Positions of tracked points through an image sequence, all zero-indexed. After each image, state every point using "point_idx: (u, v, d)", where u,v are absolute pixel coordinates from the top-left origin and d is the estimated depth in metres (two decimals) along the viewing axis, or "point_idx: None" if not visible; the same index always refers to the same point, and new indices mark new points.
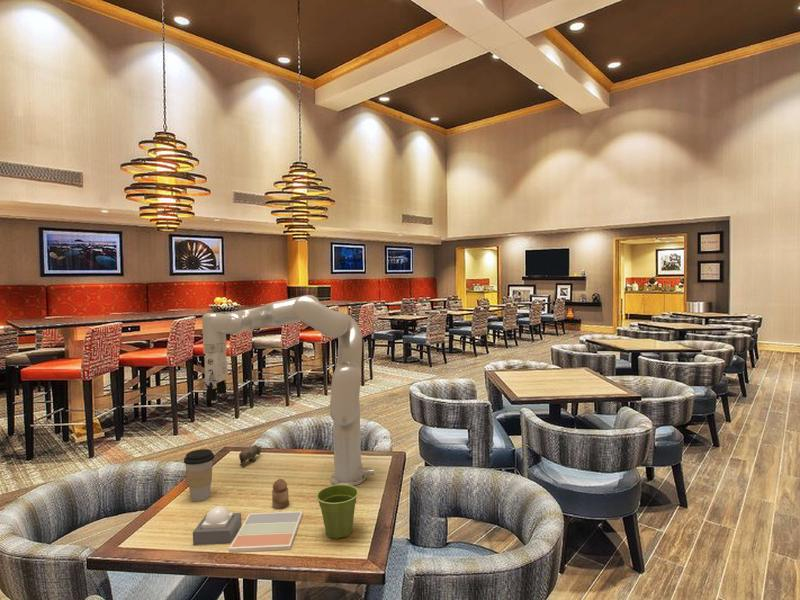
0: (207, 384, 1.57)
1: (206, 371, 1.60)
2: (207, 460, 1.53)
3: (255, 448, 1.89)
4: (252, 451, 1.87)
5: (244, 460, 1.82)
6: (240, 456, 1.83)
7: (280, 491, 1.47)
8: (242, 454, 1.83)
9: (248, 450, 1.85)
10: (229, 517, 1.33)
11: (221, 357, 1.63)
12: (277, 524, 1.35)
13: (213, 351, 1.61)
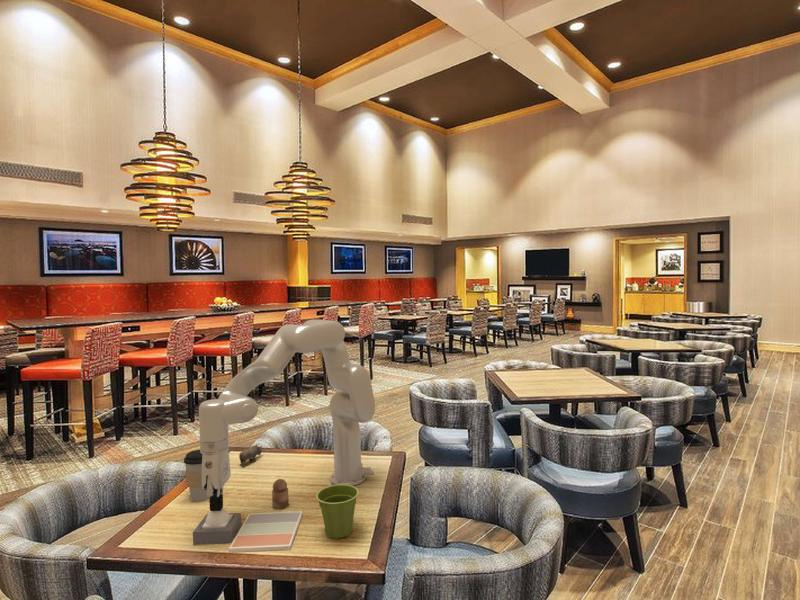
0: None
1: (203, 477, 1.27)
2: None
3: (255, 448, 1.89)
4: (252, 451, 1.86)
5: (244, 460, 1.82)
6: (240, 456, 1.83)
7: (280, 491, 1.47)
8: (242, 454, 1.83)
9: (248, 450, 1.85)
10: (229, 519, 1.33)
11: (222, 457, 1.30)
12: (277, 524, 1.35)
13: (212, 451, 1.28)
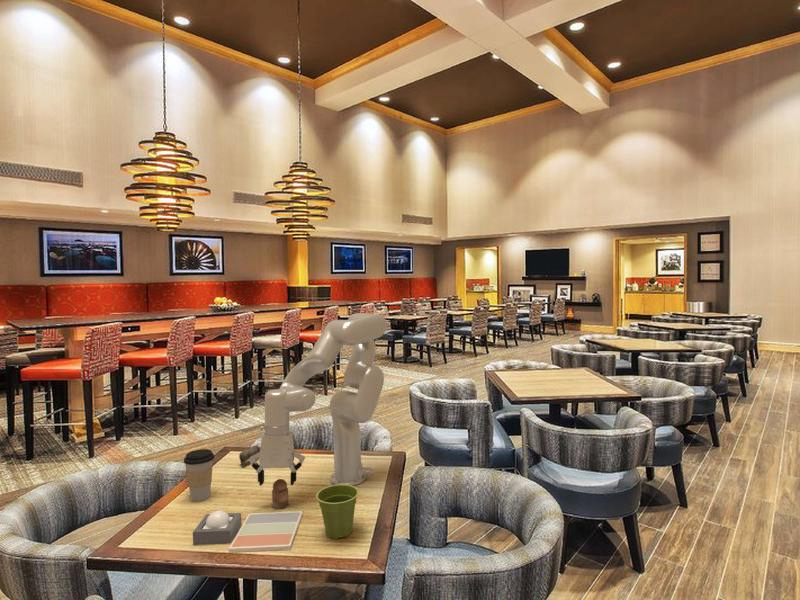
0: None
1: None
2: (207, 460, 1.53)
3: (256, 448, 1.89)
4: (252, 451, 1.86)
5: (244, 460, 1.82)
6: (240, 456, 1.83)
7: (280, 491, 1.47)
8: (242, 454, 1.82)
9: (248, 450, 1.85)
10: (229, 521, 1.33)
11: (269, 441, 1.46)
12: (277, 524, 1.35)
13: None
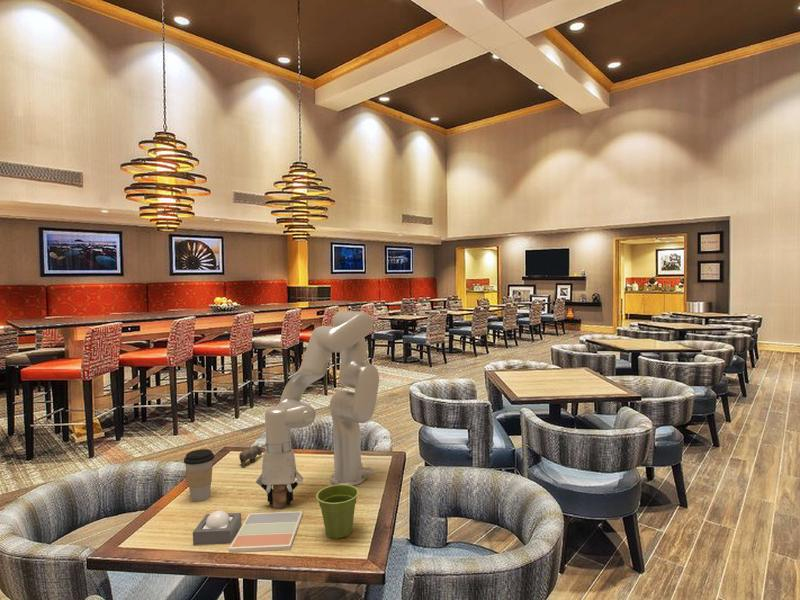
0: None
1: None
2: (207, 460, 1.53)
3: (256, 448, 1.89)
4: (252, 451, 1.86)
5: (244, 460, 1.82)
6: (240, 456, 1.83)
7: (280, 491, 1.47)
8: (242, 454, 1.82)
9: (248, 450, 1.85)
10: (229, 521, 1.33)
11: (271, 459, 1.46)
12: (277, 524, 1.35)
13: (266, 449, 1.48)
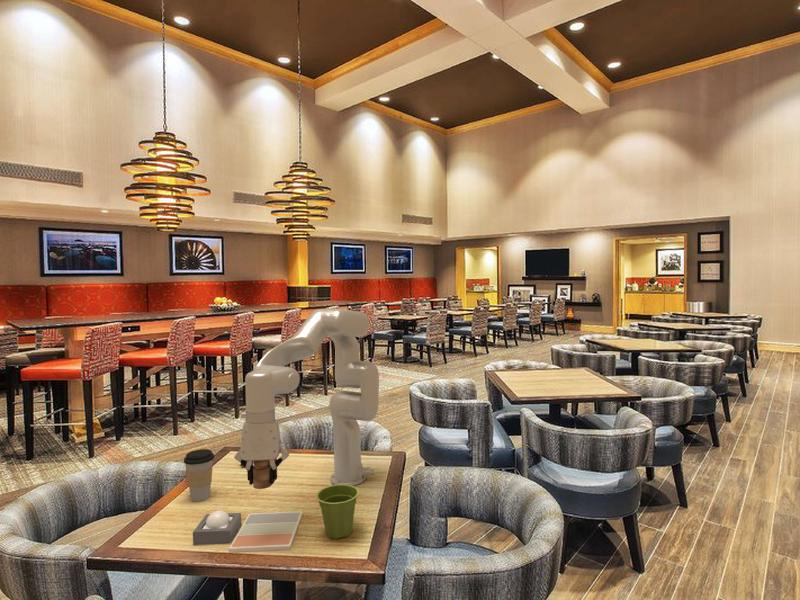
0: None
1: None
2: (207, 460, 1.53)
3: None
4: None
5: None
6: None
7: (262, 468, 1.27)
8: None
9: None
10: (229, 521, 1.33)
11: (251, 430, 1.26)
12: (277, 524, 1.35)
13: (246, 419, 1.28)
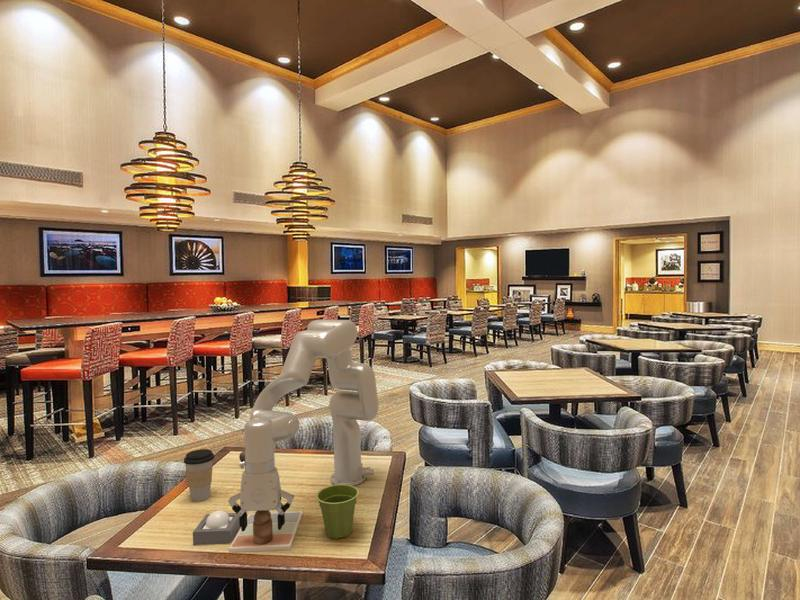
0: None
1: None
2: (207, 460, 1.53)
3: None
4: None
5: None
6: (240, 456, 1.82)
7: (262, 523, 1.25)
8: (242, 455, 1.82)
9: None
10: (229, 521, 1.33)
11: (251, 481, 1.24)
12: (277, 524, 1.35)
13: (245, 469, 1.26)
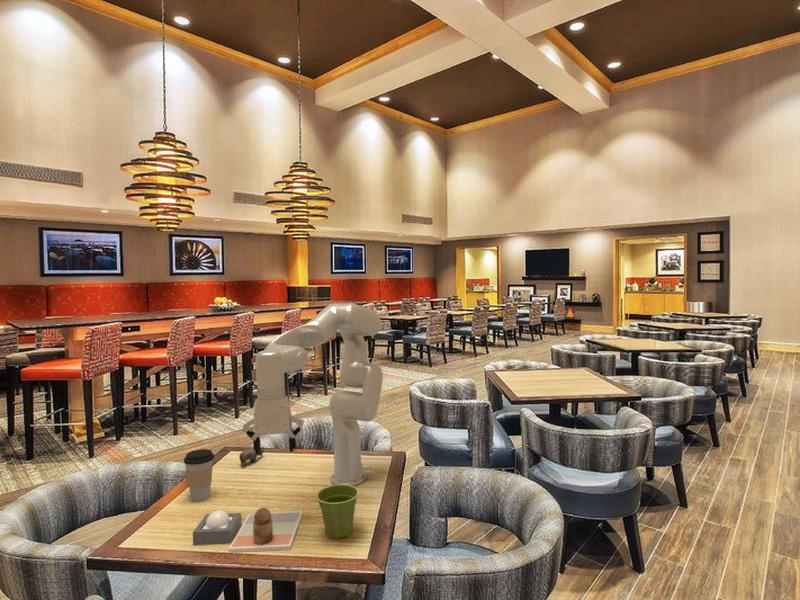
0: None
1: None
2: (207, 460, 1.53)
3: None
4: (253, 452, 1.86)
5: (244, 461, 1.82)
6: (240, 457, 1.82)
7: (263, 523, 1.25)
8: (242, 455, 1.82)
9: (248, 451, 1.85)
10: (229, 521, 1.33)
11: (263, 406, 1.33)
12: (277, 524, 1.35)
13: None
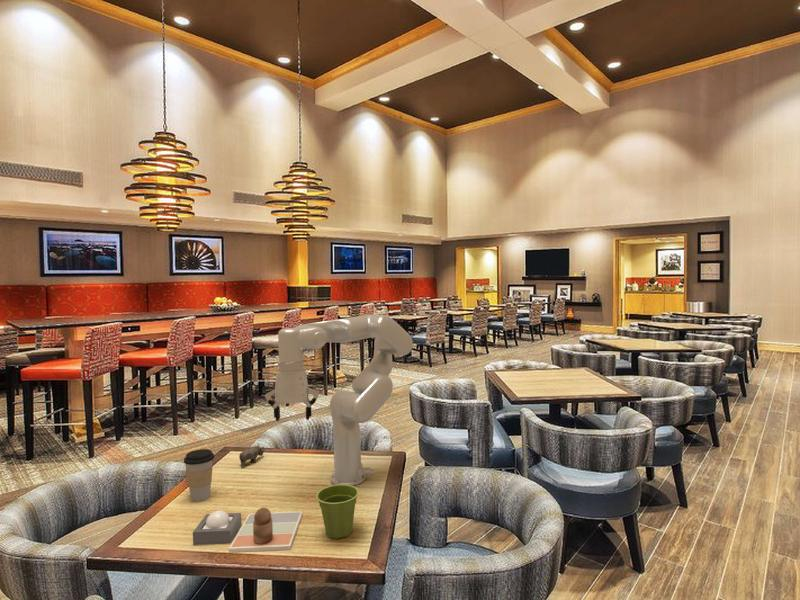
0: None
1: None
2: (207, 460, 1.53)
3: (256, 449, 1.88)
4: (253, 452, 1.86)
5: (244, 461, 1.82)
6: (240, 456, 1.82)
7: (263, 523, 1.25)
8: (242, 455, 1.82)
9: (248, 451, 1.84)
10: (229, 521, 1.33)
11: (284, 377, 1.49)
12: (277, 524, 1.35)
13: (279, 369, 1.51)
